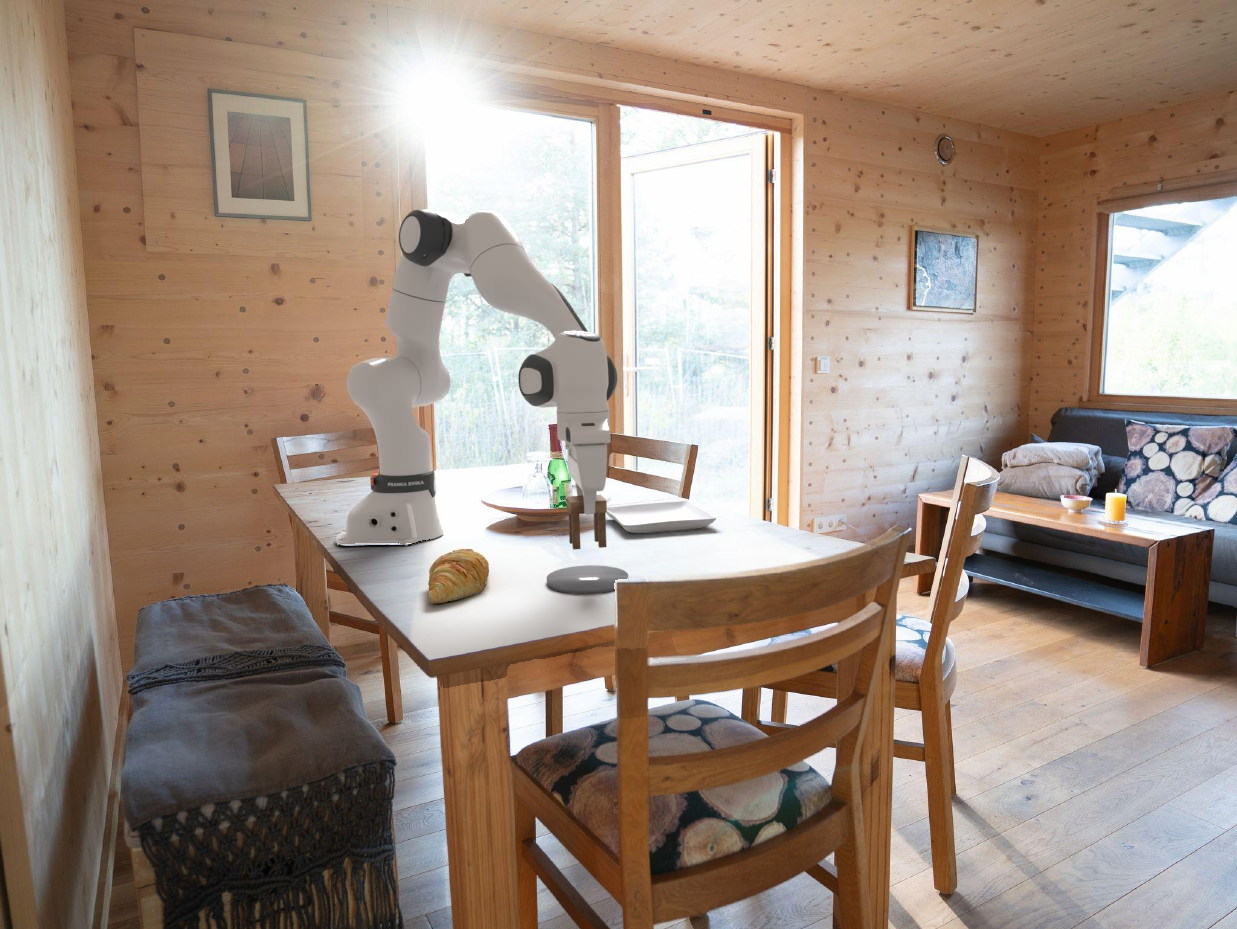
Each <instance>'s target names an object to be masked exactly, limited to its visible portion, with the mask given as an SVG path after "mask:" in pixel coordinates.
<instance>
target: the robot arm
mask: <svg viewBox="0 0 1237 929" xmlns="http://www.w3.org/2000/svg"><path fill="white" fill-rule="evenodd" d="M398 244H399V247H400V248H399V249H400V251H401V253H402V254H401V256H400V259H399V261H398V265H397V268H396V271H395V274H394V279H393V283H392V287H391V292H390V297H389V302H388V307H387V312H386V318H385V325H386V328H387V330H388V331H389V333H390V334H391V335H393V336H394V339H395V342H396V353H395V355H394V356H390V357H389V356H388V357H387V356H386V357H374V358H373V357H372V358H370V359H366V360H363V361H360V362H358V363H356V364H354V365H353V366H352V367H351V368H350V369H349V372H348V374H347V378H346V389H347V393H348V395H349V398H350V399H351V400H352V402H353V403H354V405H356V406H357V407H359V408H360V409H361V410H362V412H364V414H365V415H366V417H367V418H368V420H369V422H370V424H371V427H372V429H373V432H374V435H375V439H376V444H377V453H378V465H379V473H375V472H374V473H373V474H371V476H370V478H369V480H370V490H371V492H370V493H369V494H367V495H366V496H365V497H364V498H363V499H361V500H360V501H359V502H358V503H357V504H356V505H355V506H353V507H352V508H351V509H350V511H349V512H348V514H347V517H346V522H345V523H346V524H345V530H344V531H342V532H340V533H338V534H337V535H336V536H335V543H336V542H337V543H340V544H355V543H398V544H399V543H400V544H406V543H414V542H418V541H421V540H426V541H428V540H429V539H430V540H433V539H434V540H435V539H437V538H439V537H440V536H442V535H443V534H444V531H443V528H442V524H441V522H440V519H439V513H438V510H437V508H438V507H437V504H436V495H437V494H436V493H437V484H436V476H435V471H434V470H433V460H432V459H433V458H432V442H431V436H430V434H429V433H428V432H427V431H426V430H425V429H424V428H422V427H421V426H420V425H419V423H418V421H417V419H416V416H415V414H414V410H413V408H420V407H428V406H430V405H431V404H435V403H437V402H439V401H441V400H443V399H444V398H445V397H447V394H448V393H449V392H450V387H451V375H450V373H449V370H448V368H447V367H446V365H445V364H444V362H443V360H442V356H441V352H440V350H441V348H440V335H441V334H440V333H441V327H442V322H443V317H444V311H445V306H446V302H447V296H448V292H449V285H450V281H451V279H452V278H453V276H455V275H456V274H463V275H464V276H465V277H471V279H472V281H473V284H474V286H475V288H476V289H477V291H478V293H479V294H480V296H481V297H482V298H483V299H484V301H485V302H486V303H487V304H488V305H490V306H491V307H493V308H495V309H496V310H499V311H502V312H504V313H509V314H512V315H516V316H519V317H523V318H527V319H528V320H531V321H533V322H536V323H538V324H540V325H541V326H543V327H544V328H546V330H548V331H549V332H550V334H551V335H552V337H553V338H554V341H553V342H552V343H551V344H550V345H549V346H547V347H546V348H544V349H542V350H540V351H538V352H536V353H532V354H529V355H528V356H526V358H524V361H523V362H522V363H521V365H520V368H519V371H518V377H517V378H518V388H519V391H520V394H521V395H522V397H523V399H524V400H525V401H526V402H527V403H528V404H529V405H531V406H532V407H537V408H556V428H557V429H556V431H557V432H556V433H557V435H556V437H557V440H559V441H561V442H562V441H563V442H564V443H565V445H564V446H565V448H564V449H565V450H567V471H568V475H569V477H570V478H571V479H572V480H573V481H574V483H575V485H574V486H575V490H576V496H583V500H584V503H583V511H584V513H585V515H586V516H590V515H594V513H595V502H596V495H598V494H597V493H598V492H603V491H604V490H605V487H606V481H607V467H608V466H607V463H608V462H607V461H608V445H607V444H610V443H611V425H610V424H611V423H610V419H611V418H610V406H609V402H608V401H609V400H610V399H611V398H612V396H613V394H614V392H615V391H616V388H617V385H618V371H617V368H616V366H615V363H614V362H613V360H612V358H611V357H610V356H609V354H608V353H607V351H606V346H605V342H604V340H603V338H602V336H600V335H599V334H597V333H594V332H592V331H591V332H590V331H588V329H587V328H586V326H585V324H584V323H583V322H582V320H581V319H580V317H579V316H578V314H577V312H576V311H575V310H574V308H573V307H572V305H571V303H570V302H569V301H568V299H567V297H566V296H565V295H564V294H563V293H562V292H561V290H560V289H559V288H557V287H556V285H554V284H553V283H551V282H550V281H549V280H548V279H547V278H546V277H545V276H544V275H543V274H542V273H541V271H540V270H538V268H537V267H536V265H535V264H534V263H533V262H532V260H531V259H530V257H529V255H528V253H527V252H526V250H525V248H524V246H523V244H522V242H521V241H520V238H519V236H518V235H517V233H516V232H515V230H514V229H513V228H512V226H511V225H510V224H509V223H508V221H507V220H506V219H505V218H504V216H502V215H501V214H500V213H498V212H496V211H493V210H479V211H476V212H474V213H472V214H471V215H470V216H466V215H462V214H458V213H457V214H454V213H449V212H439V211H436V210H434V209H425V208H424V209H423V208H422V209H421V208H420V209H414V210H412V211H410V212H408V214H407V215H406V216H405V217H404V219H403V220H402V222H401V224H400V227H399V232H398ZM421 542H422V541H421ZM418 543H419V542H418Z"/></svg>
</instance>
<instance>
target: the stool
mask: <svg viewBox="0 0 1237 929" xmlns="http://www.w3.org/2000/svg"><path fill="white" fill-rule="evenodd" d="M583 503H584V500H583V496H577V495H574V496H572V495H571V496H566V509H567V510H568V511H567V514H568V534H569V535H568V537H569V539H568V540H569V544H572V549H573V550H581V522H580V515H584V514H585V513H584V511H583ZM607 503H608V502H607V499H605V497H604V496H603V495H602V494H597V495H596V502H595V513H594V514H593V532H594V533H593V535H594V542H595V543H598V544H597V546H598V548H600V549H601V548H607V521H606V520H607V517H606V515H607V514H606V513H605V512H607V506H608V505H607ZM585 515H586V514H585Z"/></svg>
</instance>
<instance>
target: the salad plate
mask: <svg viewBox="0 0 1237 929" xmlns="http://www.w3.org/2000/svg"><path fill="white" fill-rule="evenodd" d="M605 514H606V515H607V516H608V517H610V518H611V519H612V520H614V521H615V522H616V523H618V524H619V525H620V526H621V527H622V528H623V529H624V530H625V531H626V532H629V533H632V534H636V533H637V534H639V535H641V533H644V534H653V533H654V534H656V532H657V533H666V532H665V531H670V532H678V531H677V530H682V531H690V529H693V530H697V528H698V529H701V528H706V527H707V526H710V525H711V524H713V523H714V522H715V521H716V520H717V517H716V516H715V515H713V514H711V513H710V512H709V511H706V510H705V509H702V508H701V507H699V506H697V505H696V504H694V503H692V502H690V501H688V500H679V501H678V500H677V501H663V502H651V503H638V504H630V505H629V504H628V505H620V506H608V507H607V512H605ZM637 534H636V535H637Z"/></svg>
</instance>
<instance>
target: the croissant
mask: <svg viewBox="0 0 1237 929" xmlns="http://www.w3.org/2000/svg"><path fill="white" fill-rule="evenodd" d="M489 564H490V563H489V561H488V560H487V558H485V556H484V555H483V554H480V553H479V552H477V551H474V550H473V549H472V548H467V549H465V548H460V549H456V550H455V549H454V550H452V552H448V553H445V554H443V555H441V556H439V557H438V558H437V559H436V560H435V561H434V562H433V563H432V565H431V566H430V567H429V569H428V574H429V575H428V577H429V578H428V579H429V580H428V583H427V584H428V592H427V594H428V595H427V596H428V600H429V602H430V603H431V604H442V603H449V602H448V601H450V602H452V601H453V602H454V601H457V600H460V599H459V598H461V599H463V598H467V597H470V595H471V596H474V595H476V594H477V593H478V594H480V593H481V592H482V591H483V589H484V588H485V587H486V585H487V583H488V579H489V572H490V567H489ZM476 592H477V593H476ZM473 594H474V595H473Z"/></svg>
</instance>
